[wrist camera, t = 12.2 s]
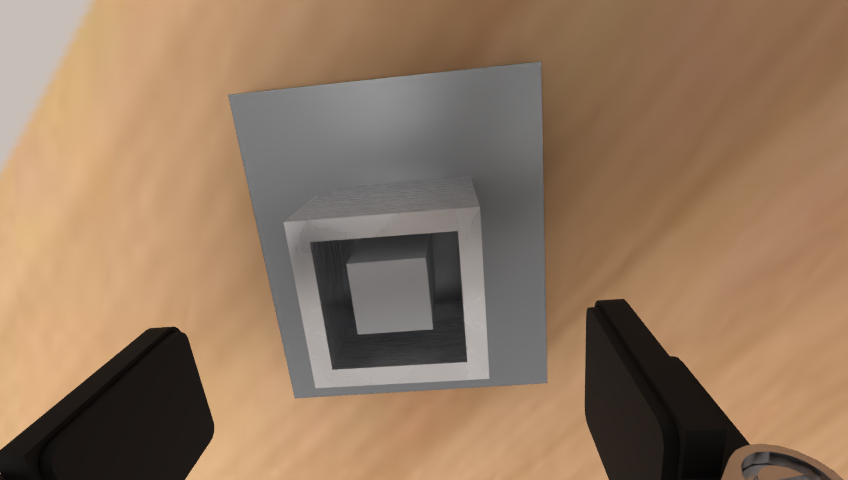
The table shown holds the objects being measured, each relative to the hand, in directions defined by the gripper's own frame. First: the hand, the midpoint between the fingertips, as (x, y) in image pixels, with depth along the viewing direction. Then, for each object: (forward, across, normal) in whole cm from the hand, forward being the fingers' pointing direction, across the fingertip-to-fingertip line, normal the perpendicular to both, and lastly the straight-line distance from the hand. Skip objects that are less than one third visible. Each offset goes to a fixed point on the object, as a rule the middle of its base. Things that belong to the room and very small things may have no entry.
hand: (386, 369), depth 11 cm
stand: (+11, +1, +1) cm, 11 cm away
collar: (+9, +1, +1) cm, 9 cm away
